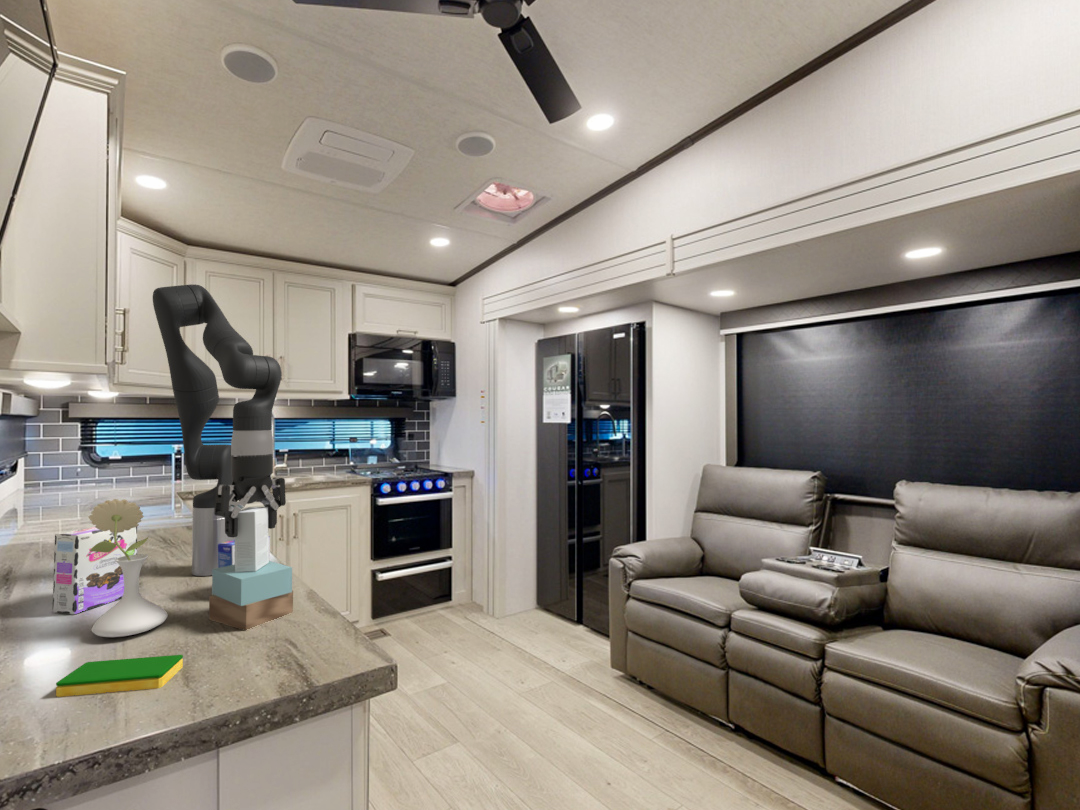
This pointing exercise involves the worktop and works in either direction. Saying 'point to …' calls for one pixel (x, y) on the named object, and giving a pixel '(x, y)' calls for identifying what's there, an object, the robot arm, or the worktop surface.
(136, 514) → the flower in vase
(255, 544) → the skincare box
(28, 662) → the worktop surface
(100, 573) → the candy box
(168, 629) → the worktop surface
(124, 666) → the dish sponge
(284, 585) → the tower top block
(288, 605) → the tower base block
